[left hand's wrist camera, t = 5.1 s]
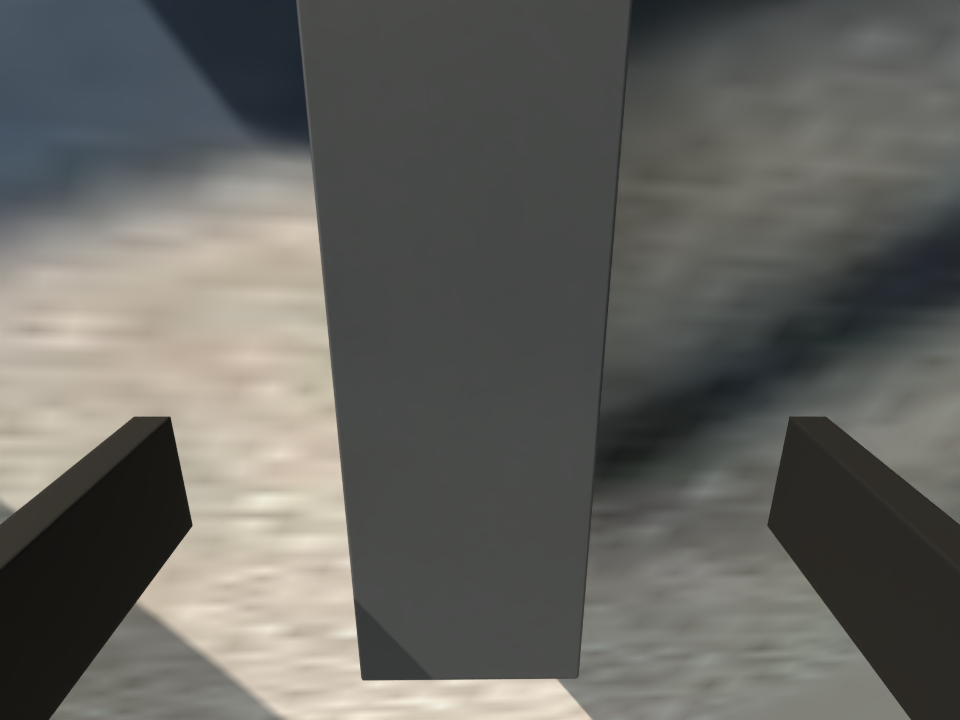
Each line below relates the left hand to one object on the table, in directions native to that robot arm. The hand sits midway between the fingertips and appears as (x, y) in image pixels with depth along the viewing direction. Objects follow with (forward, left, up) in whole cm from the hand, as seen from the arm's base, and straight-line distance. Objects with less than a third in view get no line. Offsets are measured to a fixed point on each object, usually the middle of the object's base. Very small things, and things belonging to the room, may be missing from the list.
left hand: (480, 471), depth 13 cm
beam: (-2, +19, -8) cm, 21 cm away
